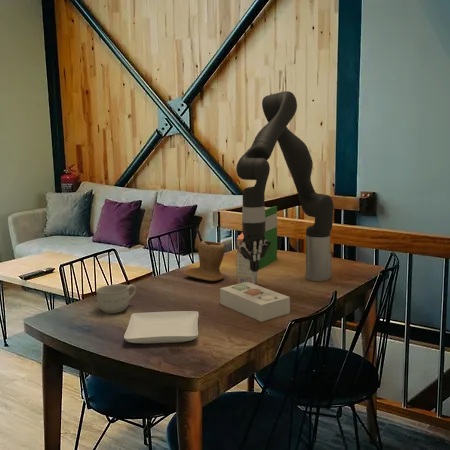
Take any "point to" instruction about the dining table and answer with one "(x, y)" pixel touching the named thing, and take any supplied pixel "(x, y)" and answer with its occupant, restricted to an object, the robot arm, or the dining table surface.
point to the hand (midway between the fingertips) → (254, 271)
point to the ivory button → (267, 297)
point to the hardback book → (270, 236)
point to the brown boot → (208, 262)
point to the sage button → (240, 287)
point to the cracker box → (244, 266)
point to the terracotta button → (253, 292)
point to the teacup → (114, 297)
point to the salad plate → (162, 327)
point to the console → (255, 302)
